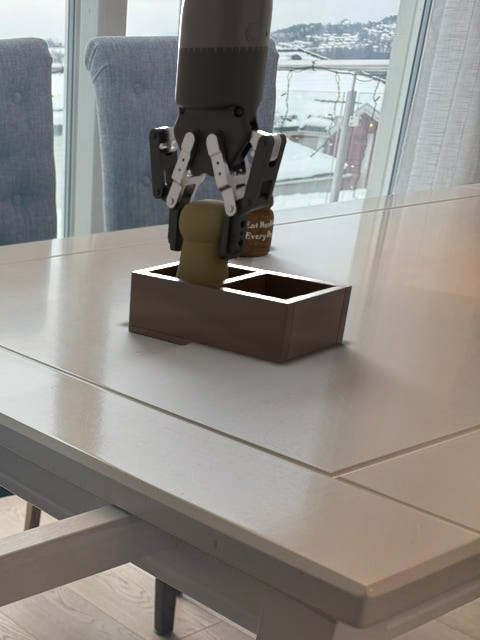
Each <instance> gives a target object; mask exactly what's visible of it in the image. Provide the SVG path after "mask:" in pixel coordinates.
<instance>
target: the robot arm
mask: <svg viewBox="0 0 480 640" xmlns="http://www.w3.org/2000/svg"><path fill="white" fill-rule="evenodd" d="M273 7H274V0H182V5H181V13H180V20H179V21H180V23H179V37H178V49H177V62H176V63H177V64H176V76H175V77H176V78H175V92H174V103H175V105H176V106H177V107H178V115H177V118H176V121H175V122H174V125H173V126H161V127H155V128H152V129H151V130H150V131H149V134H148V143H149V156H150V174H151V188H152V197H154V199H156V200H162V201H163V202H164V203H166V207H168V208H169V214H168V228H167V241H168V244H169V250H170V251H172V252H177V253H178V252H181V250H182V245H183V240H184V238H183V236H182V234H181V233H180V229H179V217H180V214H181V211H182V209H183V208H184V206H185V205H187V204H188V203H190V202H194V198H195V196H196V194H197V191H198V188H199V186H200V184H202V183H203V182H204V181H205V179H206V176H207V175H208V176H210V177H214V179H215V180H214V181H215V185H216V188H217V190H218V191H219V192H220V193H221V196H222V197H221V198H222V201H223V202H224V207H225V212H226V214H227V215H228V216H223V225H222V235H221V245H220V258H221V259H224V260H228V261H231V260H235V259H239V257H240V256H239V255H240V252H243V249H244V247H245V239H246V232H247V223H248V217H249V214H250V213H251V212H252V211H254V210H257V209H260V208H264V207H267V206H268V205H269V203H270V200H271V197H272V195H273V193H274V188H275V185H276V182H277V178H278V175H279V171H280V167H281V164H282V160H283V156H284V153H285V151H286V146H287V142H288V141H287V136H286V134H285V133H282V132H280V133H270V132H266V131H263V130H261V129H260V125H259V121H258V109H259V106H260V104H261V103H262V101H263V99H264V98H263V97H264V89H265V79H266V71H267V65H268V64H267V63H268V54H269V47H270V46H269V45H270V37H271V28H272V19H273V10H274V9H273ZM178 148H179V151H180V152H179V155H178ZM251 149H252V150H251ZM249 153H250V157H252V162H251V165H252V166H250V164H249V163H250V162H249V157H248V154H249ZM233 174H234V176H233Z"/></svg>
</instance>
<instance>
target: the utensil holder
mask: <svg viewBox="0 0 480 640" xmlns="http://www.w3.org/2000/svg"><path fill="white" fill-rule="evenodd" d="M251 166H252V164H251V163H250V162H249V167H251ZM274 197H275V196H274V195H273V194H272V197H271V200H270V203H269V205H268V206H267V207H264V208H260V209H257V210H254V211H252V212H251V213H250V214H249V217H248V223H247V232H246V239H245V247H244V249H243V252H240V255H239V257H242V258H243V257H245V258H250V257H252V258H254V257H262V256H267V255H268V254H269V252H270V251H271V246H272V241H273V232H274V226H275V225H274V224H275V214H274V213H275V212H274V211H273V210H272V209H271V208H272V207H273V206H274V205H275V198H274Z"/></svg>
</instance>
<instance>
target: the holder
mask: <svg viewBox="0 0 480 640" xmlns="http://www.w3.org/2000/svg"><path fill="white" fill-rule="evenodd" d="M178 265H179V261H176V262H170V263H167V264H162V265H157V266H153V267H147V268H144V269H138V270H133V271H131V277H130V295H129V311H128V328H127V329H128V332H132V333H135V334H138V335H142V336H147V337H150V338H154V339H157V340H163V341H166V342H169V343H174V344H178V345H182V346H187V345H190V344H193V343H197V344H201V345H205V346H209V347H212V348H217V349H219V350H225V351H228V352H232V353H236V354H239V355H244V356H247V357H252V358H255V359H260V360H264V361H267V362H270V363H274V364H275V363H276V364H283V363H285V362H289V361H292V360H295V359H298V358H301V357H303V356H307V355H311V354H313V353H316V352H318V351H319V352H320V351H322V350H325V349H328V348H331V347H335V346H337V345H340V344H342V343H343V341H344V333H345V328H346V323H347V318H348V312H349V305H350V300H351V295H352V290H353V286H352V285H349V284H344V283H338V282H333V281H329V280H328V281H327V280H322V279H315V278H311V277H305V276H299V275H294V274H288V273H283V272H276V271H272V270H265V269H260V268H254V267H250V266H244V265H238V264H233V263H228V279H227V280H223V281H218V282H214V283H210V284H203V283H198V282H193V281H188V280H183V279H178V278H176V275H177V270H178Z"/></svg>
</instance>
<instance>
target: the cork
mask: <svg viewBox="0 0 480 640" xmlns="http://www.w3.org/2000/svg"><path fill="white" fill-rule="evenodd" d="M223 216H228V215H227V214H226V212H225V207H224V202H223V200H219V199H213V198H212V199H211V198H207V199H205V198H204V199H198V200H193V201H192V202H190V203H188V204H187V205H185V206H184V208H183V209H182V211H181V214H180V217H179V229H180V233H181V234H182V236H183V238H184V240H183V245H182V250H181V251H180V255H179V260H178V262H179V265H178V270H177V275H176V278H178V279H183V280H188V281H193V282H198V283H203V284H210V283H214V282H218V281H223V280H227V279H228V264H229V260H224V259H221V258H220V245H221V235H222V225H223Z"/></svg>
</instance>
